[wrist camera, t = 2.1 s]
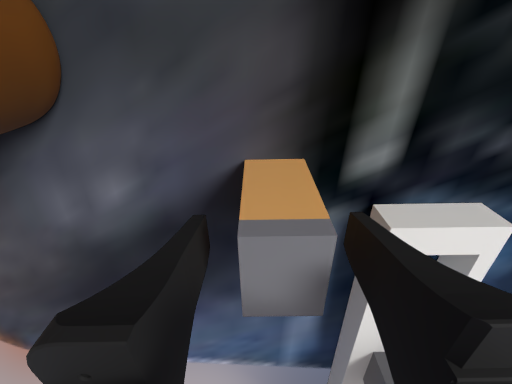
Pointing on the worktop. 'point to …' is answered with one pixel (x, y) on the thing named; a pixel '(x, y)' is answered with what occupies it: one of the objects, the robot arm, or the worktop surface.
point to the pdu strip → (429, 243)
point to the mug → (26, 65)
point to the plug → (283, 240)
